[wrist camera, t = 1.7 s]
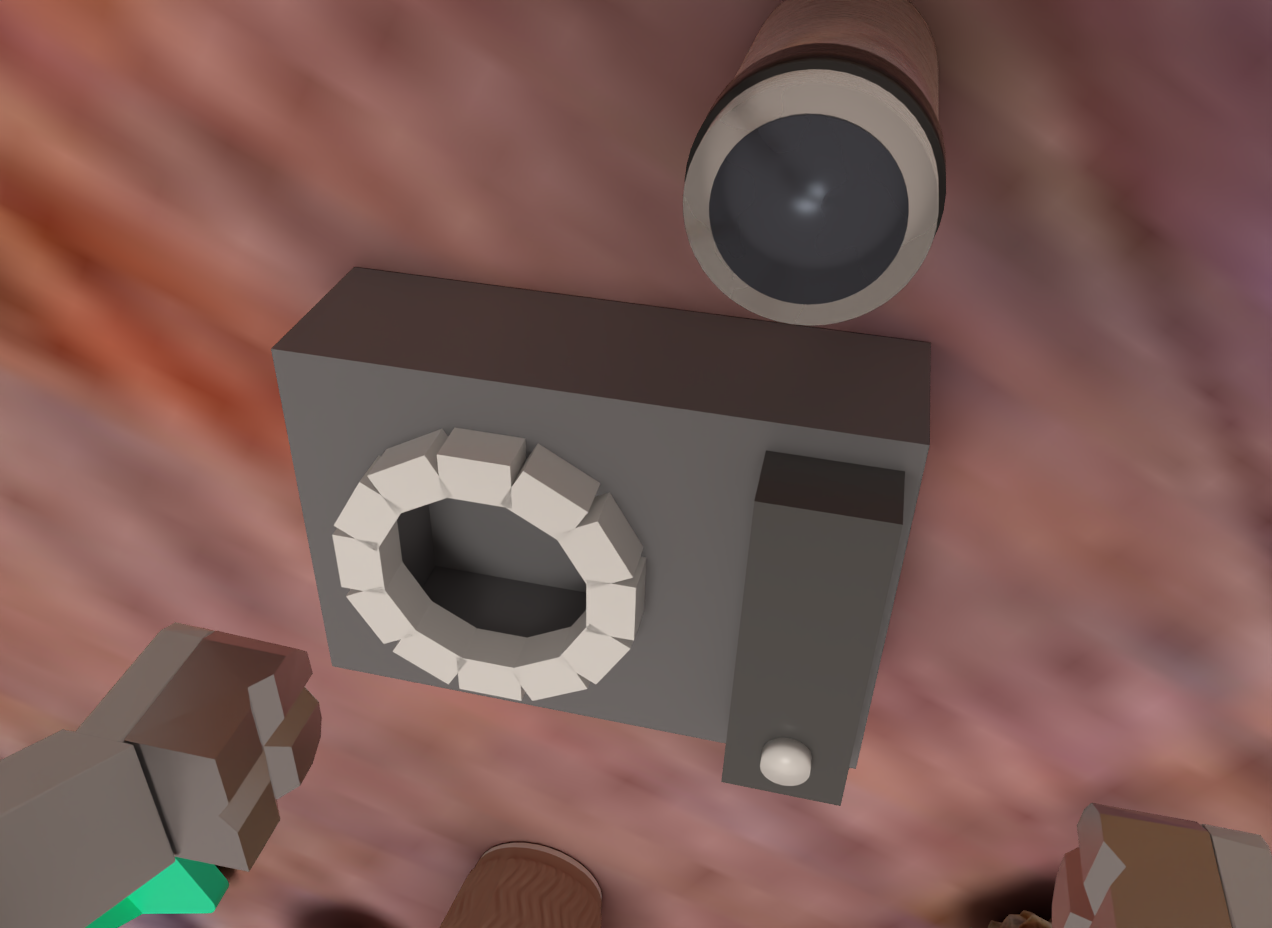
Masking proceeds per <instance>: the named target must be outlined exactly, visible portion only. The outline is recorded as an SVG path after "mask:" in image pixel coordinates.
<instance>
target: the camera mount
mask: <svg viewBox="0 0 1272 928" xmlns="http://www.w3.org/2000/svg"><path fill="white" fill-rule="evenodd" d="M228 887H229V883H228V881H227V879H226V878H225V877H224V875H223V874H222V873H221V872H220V871H219V869H218V868H217V867H216V866H215V865H214V864H209V863H204V862H199V861H194V860H189V859H184V858H179V857H175V862H174V863H173V864H171V865H170V866H169V867H167V868H166V869H164V870H163V871H162V872H160V873H159V874H158V875H156V876H155V877H153V878H152V879H151V880H149V881H148V882H147V883H145V884H144V885H143V886H141V887H140V888H138V889H137V890H136V891H134V892H133V893H132V894H130V895H129V896H127V897H126V898H125V899H123V900H122V901H121V902H119V903H118V904H117V905H115V906H114V907H112V908H111V909H110V910H108V911H107V912H106V913H104V914H103V915H101V916H100V917H99V918H97V919H96V920H95V921H93V922H92V923H91V924H89V925H88V926H86V927H85V928H118V927H120V926H121V925H123V924H125V923H127V922H129V921H130V920H132V919H134V918H136V917H138V916H139V915H141V914H181V913H212V912H214V910H215V909H216V907H217V905H218V904H219V902H220V900H221V899H222V897H223V895H224V894H225V892H226V890H227V889H228Z"/></svg>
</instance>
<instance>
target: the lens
mask: <svg viewBox="0 0 1272 928" xmlns="http://www.w3.org/2000/svg"><path fill="white" fill-rule="evenodd" d="M945 196H946V160H945V147H944V140H943V135H942V131H941V128H940V125H939V114H938V57H937V50H936V46H935V43H934V40H933V36H932V34H931V32H930V30H929V28H928V25H927V24H926V22H925V21H924V19H923V17H922V16H921V14H920V13H919V12H918V11H917V10H916V8H915V7H914V6H913V5H912V4H911V3H910V2H909V1H908V0H785V1H783V2H782V3H781V4H780V5H779V6H778V7H777V8H776V9H775V10H774V11H773V12H772V13H771V15H770V16H769V17H768V18H767V20H766V21H765V22H764V24H763V26H762V27H761V29H760V31H759V32H758V34H757V36H756V38H755V40H754V42H753V44H752V46H751V47H750V49H749V51H748V53H747V55H746V57H745V59H744V61H743V63H742V65H741V66H740V68H739V70H738V72H737V74H736V76H735V78H734V79H733V80H732V81H731V82H730V83H729V84H728V85H727V86H726V88H725V89H724V90H723V91H722V93H721V94H720V95H719V97H718V98H717V99H716V101H715V103H714V105H713V106H712V108H711V110H710V111H709V113H708V115H707V117H706V119H705V120H704V122H703V124H702V126H701V128H700V130H699V132H698V133H697V136H696V138H695V140H694V143H693V145H692V148H691V151H690V154H689V158H688V162H687V167H686V175H685V186H684V194H683V216H684V223H685V229H686V233H687V236H688V240H689V243H690V246H691V248H692V250H693V252H694V255H695V257H696V259H697V261H698V262H699V264H700V266H701V267H702V269H703V271H704V272H705V273H706V274H707V276H708V277H709V278H710V280H711V281H712V282H713V283H714V284H715V285H716V286H717V287H718V288H719V289H720V290H721V291H722V292H723V293H724V294H725V295H727V296H728V297H729V298H730V299H732V300H733V301H734V302H736V303H737V304H739V305H740V306H742V307H744V308H745V309H747V310H749V311H751V312H753V313H755V314H758V315H760V316H762V317H765V318H768V319H771V320H774V321H778V322H783V323H788V324H794V325H808V326H810V325H827V324H833V323H839V322H843V321H846V320H850V319H853V318H856V317H859V316H861V315H863V314H866V313H868V312H870V311H872V310H874V309H876V308H877V307H879V306H881V305H883V304H884V303H886V302H887V301H888V300H890V299H891V298H892V297H894V296H895V295H896V294H897V293H898V292H899V291H900V290H901V289H902V288H903V287H905V286H906V285H907V284H908V282H909V281H910V280H911V279H912V277H913V276H914V275H915V274H916V272H917V271H918V270H919V268H920V266H921V265H922V263H923V261H924V260H925V258H926V256H927V254H928V251H929V249H930V247H931V244H932V242H933V239H934V237H935V234H936V232H937V230H938V227H939V225H940V221H941V217H942V214H943V210H944V203H945Z"/></svg>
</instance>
